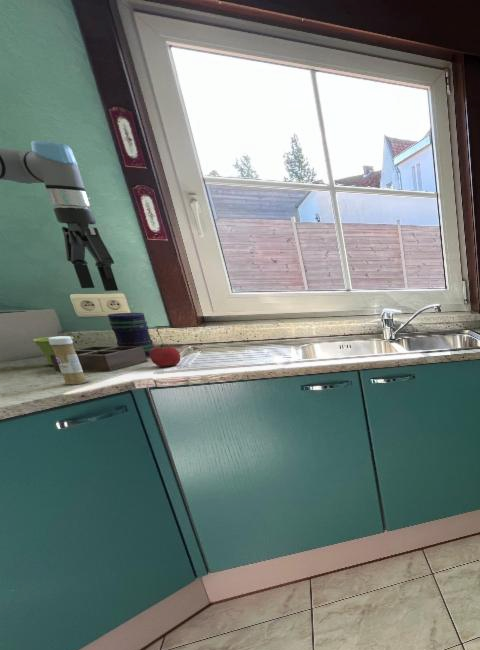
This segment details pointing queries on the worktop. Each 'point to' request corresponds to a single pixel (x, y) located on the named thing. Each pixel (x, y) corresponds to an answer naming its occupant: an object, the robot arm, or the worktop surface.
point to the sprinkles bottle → (67, 359)
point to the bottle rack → (106, 357)
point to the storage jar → (131, 330)
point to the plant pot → (46, 347)
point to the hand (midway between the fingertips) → (99, 289)
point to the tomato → (164, 356)
